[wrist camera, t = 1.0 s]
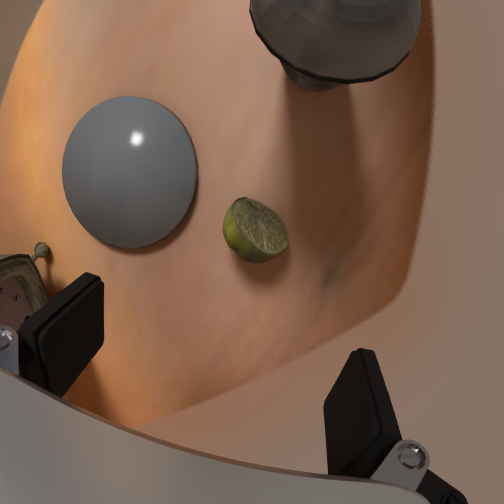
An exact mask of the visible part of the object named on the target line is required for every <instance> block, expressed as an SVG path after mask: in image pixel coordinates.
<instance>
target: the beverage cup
mask: <svg viewBox="0 0 504 504" xmlns="http://www.w3.org/2000/svg"><path fill="white" fill-rule="evenodd" d="M249 12H250V15H251V19H252V22H253V25H254V28H255V31H256V34H257V35H258V37H259V38H260V39H261V41H262V42H263V43H264V45H265V46H266V47H267V49H268V50H269V51H270V53H271V54H273V55H274V56H275V57H277V58H278V59H279V60H280V62H281V64H282V66H283V68H284V70H285V72H286V73H287V74H288V76H289V77H290V79H291V80H292V81H293V82H294V83H296V84H297V85H298V86H300V87H302V88H305V89H307V90H313V91H320V90H326V89H331V88H333V87H335V86H338V85H340V84H354V83H361V82H369V81H374V80H376V79H378V78H380V77H382V76H384V75H386V74H388V73H390V72H393V71H394V70H395V69H396V68H397V67H398V66H399V65H400V64H401V63H402V61H403V60H404V59H405V58H406V57H407V56H408V54H409V52H410V49H411V48H412V47H413V45H414V43H415V40H416V37H417V35H418V32H419V29H420V26H421V22H422V12H421V0H250V10H249Z"/></svg>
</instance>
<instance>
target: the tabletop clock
mask: <svg viewBox="0 0 504 504" xmlns="http://www.w3.org/2000/svg"><path fill="white" fill-rule="evenodd" d="M34 252H35V254H34V255H33V256H32V257H30V256H29V255H26V254H11V255H0V325H6V326H9V327H11V328H13V329H14V330H15V331H17V330H19V329H20V325H21V324H22V323H23V322H25V321H26V320H27V319H28V318H29V317H30V316H32V315H33V314H34V313H35V312H36V311H38V310H39V309H40V308H41V307H42V306H44V305H45V304H46V303H47V302H48V301H50V299H49V296H48V294H47V291H46V289H45V286H44V283H43V281H42V278H41V275H40V273H39V271H38V269H37V267H36V265H35V263H34V262H35V261H36V259H37V258H38V257H40V258H43V257H45V256H46V255H47V253H48V246H47V245H46V244H45V243H42V242H40V243H37V244H36V246H35V248H34Z"/></svg>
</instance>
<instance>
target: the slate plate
mask: <svg viewBox="0 0 504 504" xmlns="http://www.w3.org/2000/svg"><path fill="white" fill-rule="evenodd" d="M62 179H63V186H64V191H65V195H66V198H67V201H68V203H69V206H70V208H71V210H72V212H73V214H74V215H75V217H76V218H77V220H78V221H79V222H80V224H81V225H82V226H83V227H84V228H85V229H86V230H87V231H88V232H89V233H90V234H92V235H93V236H94V237H96V238H97V239H99V240H101V241H103V242H105V243H107V244H110V245H112V246H117V247H121V248H138V247H143V246H147V245H150V244H152V243H155V242H156V241H158V240H160V239H162V238H163V237H164V236H166V235H167V234H169V233H170V232H171V231H172V230H173V229H174V228H175V227H176V226H177V225H178V224H179V223H180V222H181V220H182V219H183V218H184V217H185V215H186V213H187V211H188V210H189V208H190V206H191V203H192V201H193V199H194V195H195V191H196V187H197V180H198V163H197V156H196V151H195V147H194V144H193V142H192V139H191V137H190V135H189V133H188V131H187V129H186V127H185V126H184V125H183V123H182V122H181V121H180V119H179V118H178V117H177V116H176V115H175V114H174V113H173V112H171V111H170V110H169V109H168V108H166V107H165V106H163V105H161V104H159V103H157V102H155V101H152V100H149V99H145V98H140V97H134V96H123V97H116V98H112V99H109V100H106V101H104V102H102V103H100V104H98V105H97V106H95V107H93V108H92V109H91V110H90V111H88V112H87V113H86V114H85V115H84V116H83V117H82V118H81V119H80V120H79V122H78V123H77V125H76V126H75V128H74V129H73V131H72V133H71V135H70V137H69V139H68V142H67V144H66V148H65V151H64V156H63V163H62Z"/></svg>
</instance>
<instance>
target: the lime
mask: <svg viewBox="0 0 504 504" xmlns="http://www.w3.org/2000/svg"><path fill="white" fill-rule="evenodd" d="M223 234H224V238H225V240H226V242H227V244H228V245H229V247H230V248H231V249H232V250H234V251H235V253H236V254H237V255H238V256H239V257H240V258H242V259H243V260H245V261H247V262H251V263H263V262H266V261H269V260H271V259H273V258H275V257H277V256H278V255H280V254H281V253H282V252H283V251H284V250H285V249H286V248H287V245H288V232H287V230H286V227H285V224H284V223H283V222H282V221H281V218H280V217H279V216H278V215H277V214H276V213H275V212H274V211H272V210H271V209H270V208H268V207H267V206H265V205H264V204H262V203H260V202H259V201H256V200H253V199H248V198H247V197H243V198H239V199H237V200H235V201H234V202H233V203H232V204H231V206H230V207H229V209H228V211H227V213H226V216H225V218H224V223H223Z"/></svg>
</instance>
